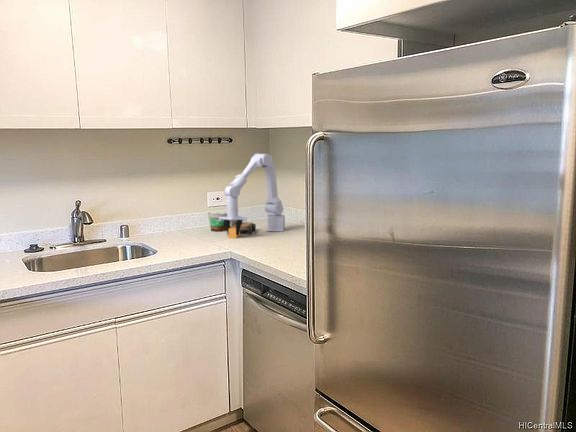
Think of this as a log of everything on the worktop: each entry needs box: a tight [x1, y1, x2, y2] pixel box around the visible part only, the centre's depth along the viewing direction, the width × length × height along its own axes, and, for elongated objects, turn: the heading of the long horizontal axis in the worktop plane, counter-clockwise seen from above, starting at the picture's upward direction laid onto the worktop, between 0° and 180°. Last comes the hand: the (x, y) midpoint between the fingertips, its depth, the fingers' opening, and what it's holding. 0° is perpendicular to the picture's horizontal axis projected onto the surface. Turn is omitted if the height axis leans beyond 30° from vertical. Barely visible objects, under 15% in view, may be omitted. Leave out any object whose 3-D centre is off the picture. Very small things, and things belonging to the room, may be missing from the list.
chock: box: [228, 227, 241, 239], centre depth 243 cm, size 4×8×5 cm, turn 171°
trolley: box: [230, 221, 257, 235], centre depth 254 cm, size 13×13×7 cm
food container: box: [207, 212, 227, 233], centre depth 258 cm, size 12×6×10 cm, turn 73°
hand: (233, 234), depth 241 cm, fingers closed on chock, 4 cm apart
